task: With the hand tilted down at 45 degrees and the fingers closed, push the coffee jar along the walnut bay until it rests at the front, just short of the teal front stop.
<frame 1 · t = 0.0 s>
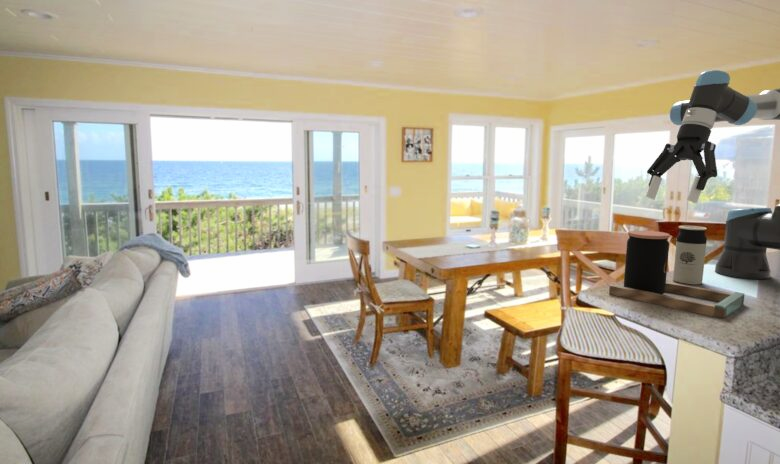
hand: (670, 199, 127), 28 cm above the counter, tool tilted 20°, fingers open, 13 cm apart
bay: (673, 298, 127), on the counter
coffee jar: (643, 293, 133), on the counter
travel mug: (687, 282, 146), on the counter
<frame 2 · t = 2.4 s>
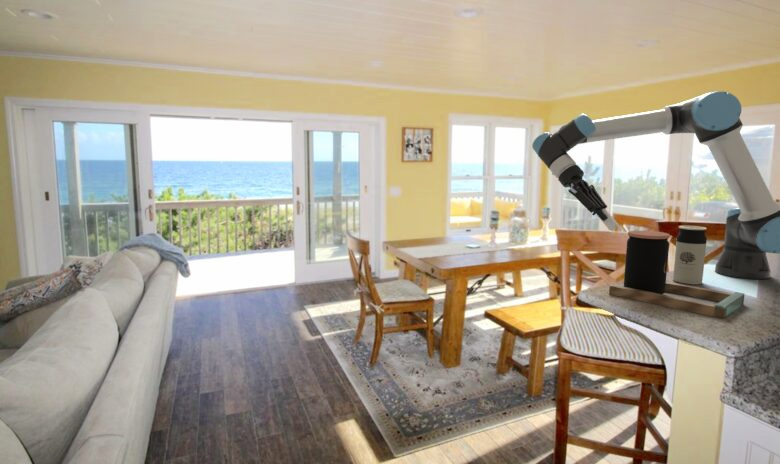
hand: (614, 227, 138), 19 cm above the counter, tool tilted 45°, fingers closed
nothing on the counter moved.
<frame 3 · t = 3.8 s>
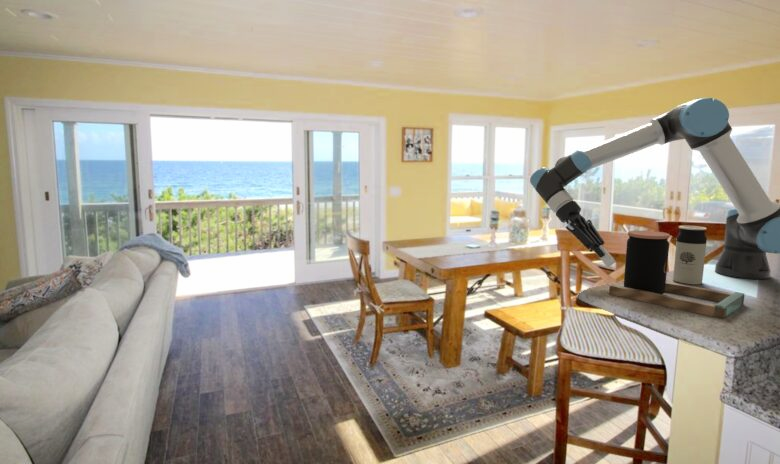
hand: (611, 264, 140), 7 cm above the counter, tool tilted 45°, fingers closed
nothing on the counter moved.
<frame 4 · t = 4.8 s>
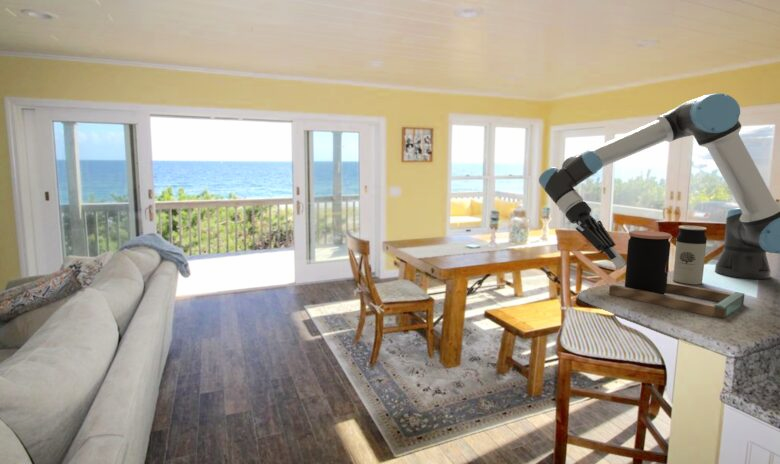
hand: (622, 266, 137), 7 cm above the counter, tool tilted 45°, fingers closed
coffee jar: (644, 293, 133), on the counter, touching gripper
everything else where it was.
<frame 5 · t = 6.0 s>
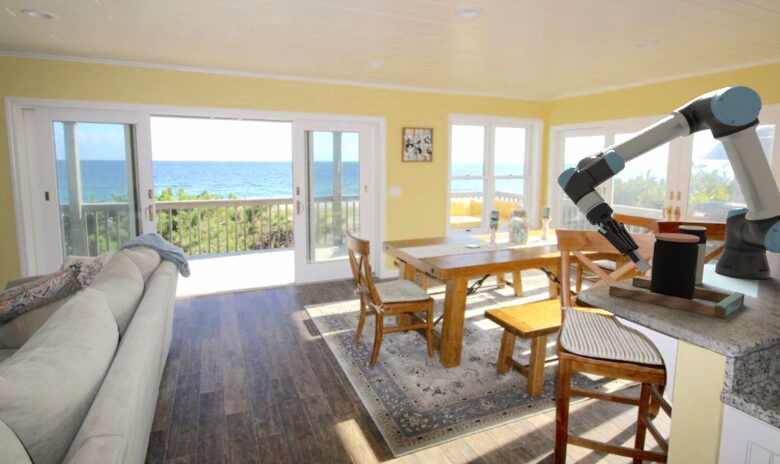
hand: (647, 270, 131), 7 cm above the counter, tool tilted 45°, fingers closed
coffee jar: (670, 298, 128), on the counter, touching gripper
everything else where it was.
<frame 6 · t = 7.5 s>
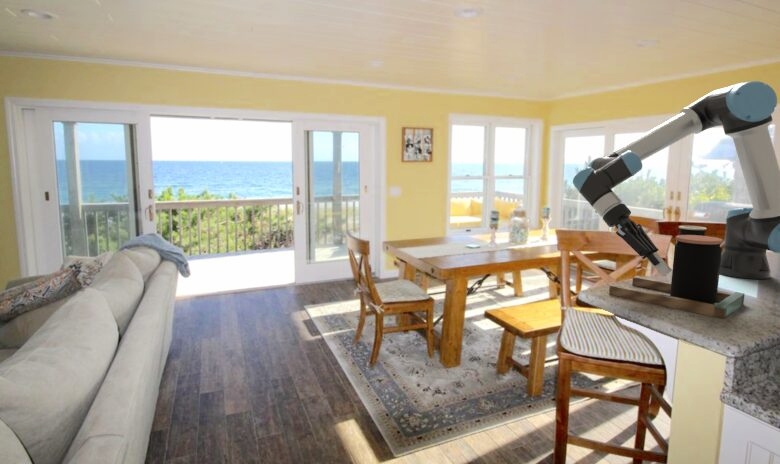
hand: (667, 273, 128), 7 cm above the counter, tool tilted 45°, fingers closed
coffee jar: (692, 302, 125), on the counter, touching gripper
everything else where it was.
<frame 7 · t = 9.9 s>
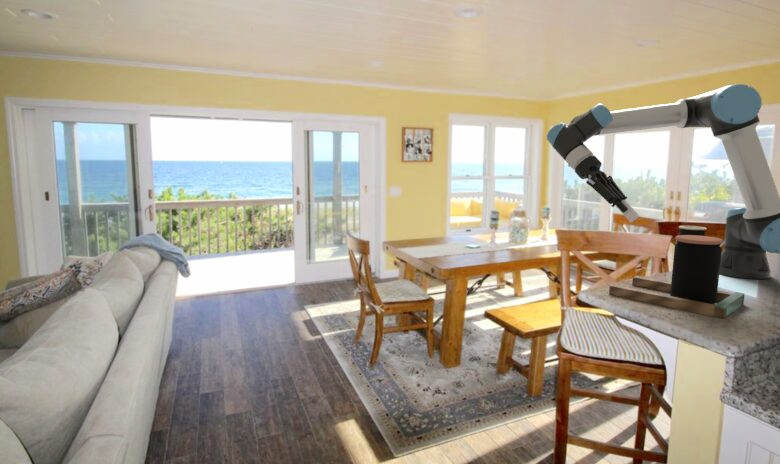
hand: (635, 219, 133), 22 cm above the counter, tool tilted 45°, fingers closed
coffee jar: (692, 302, 125), on the counter
everything else where it was.
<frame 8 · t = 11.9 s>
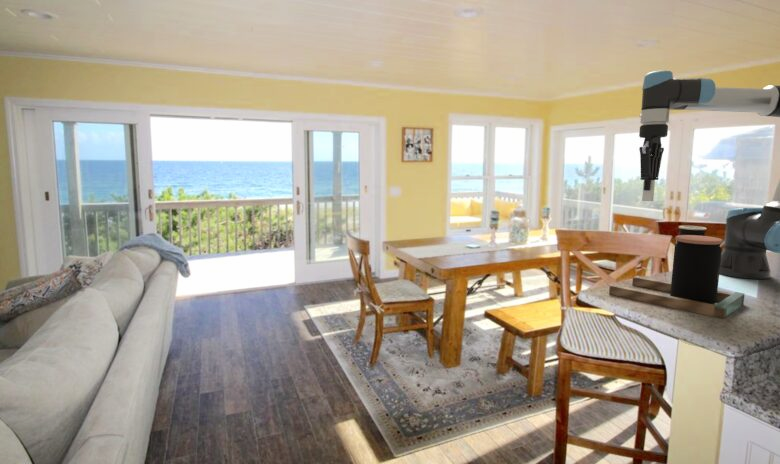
hand: (647, 200, 142), 26 cm above the counter, tool pointing down, fingers closed
nothing on the counter moved.
at the end: coffee jar inside the target area (0.9 cm from its centre), on the counter; coffee jar tilted 0°; coffee jar moved 12.3 cm from its start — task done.
